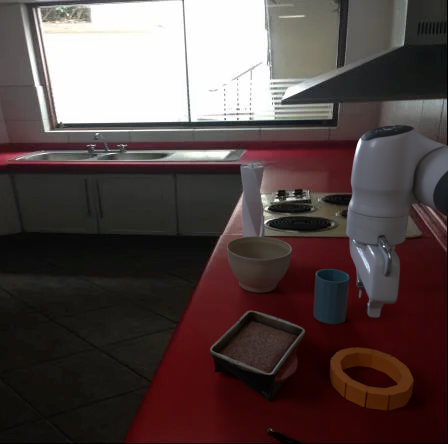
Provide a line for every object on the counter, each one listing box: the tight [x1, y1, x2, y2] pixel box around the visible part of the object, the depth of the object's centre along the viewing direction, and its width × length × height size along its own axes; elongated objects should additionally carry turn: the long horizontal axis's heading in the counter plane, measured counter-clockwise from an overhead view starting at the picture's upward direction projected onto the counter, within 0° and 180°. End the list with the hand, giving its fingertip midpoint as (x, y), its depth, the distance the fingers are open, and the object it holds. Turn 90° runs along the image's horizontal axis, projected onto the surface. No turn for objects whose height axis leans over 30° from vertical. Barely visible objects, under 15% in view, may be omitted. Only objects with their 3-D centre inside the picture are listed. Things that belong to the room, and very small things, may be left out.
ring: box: [328, 346, 415, 412], centre depth 72 cm, size 12×12×3 cm
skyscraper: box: [240, 159, 265, 237], centre depth 134 cm, size 8×8×28 cm
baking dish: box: [209, 310, 306, 403], centre depth 76 cm, size 14×18×10 cm
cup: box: [312, 268, 351, 325], centre depth 92 cm, size 7×7×10 cm
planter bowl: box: [226, 236, 293, 294], centre depth 108 cm, size 16×16×11 cm
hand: (367, 301), depth 73 cm, fingers open, 8 cm apart
